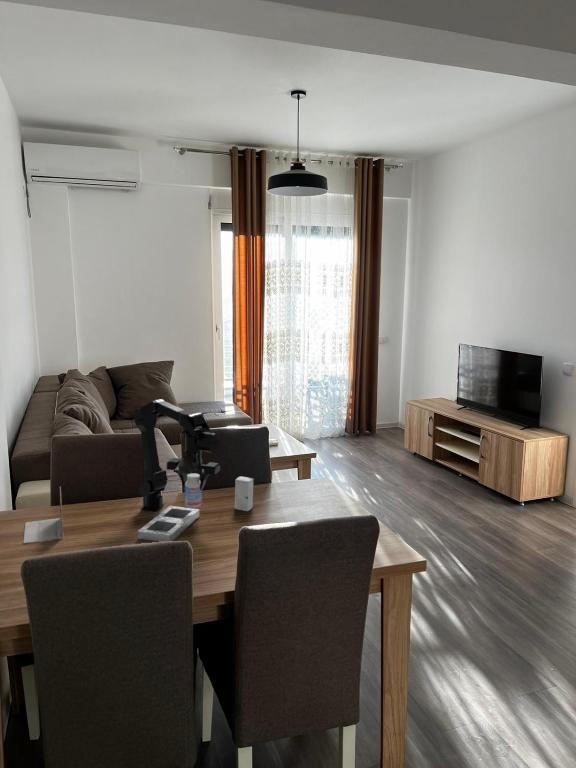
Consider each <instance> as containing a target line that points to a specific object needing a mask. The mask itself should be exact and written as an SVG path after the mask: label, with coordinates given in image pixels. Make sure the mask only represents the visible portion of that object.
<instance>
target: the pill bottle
mask: <svg viewBox="0 0 576 768" xmlns="http://www.w3.org/2000/svg"><path fill="white" fill-rule="evenodd" d="M200 481H201V477H200V473H196V472H195V473H193V472H192V473H191V474H187V481H186V482H185V488H184V505H185V506H186V508H197V507H198V508H199V507H201V505H202V499H203V498H202V497H203V496H202V494H203V492H202V491H203V489H202V490H200Z"/></svg>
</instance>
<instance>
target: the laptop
mask: <svg viewBox="0 0 576 768" xmlns="http://www.w3.org/2000/svg"><path fill="white" fill-rule="evenodd" d="M61 487H62V486H59V505H60V517H57V518H49V519H41V520H32V521H26V522H25V523H24V531H23V532H24V533H23V540H22V541H23V542H22V543H23V544H24V545H25V544H33V543H34V544H35V543H43V542H48V541H49V542H50V541H56V540H63V539H64V530H63V529H64V526H63V525H64V524H63V523H64V522H63V519H64V518H63V506H62V488H61Z"/></svg>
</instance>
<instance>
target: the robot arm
mask: <svg viewBox="0 0 576 768" xmlns="http://www.w3.org/2000/svg"><path fill="white" fill-rule="evenodd" d="M160 414H161V415H163V416H166V417H168V418H170V419H172V420H174V421H176V422H177V423H178V424H179V426H180V427H181V428H183V430H182V431H180V434H181V435H184V436H185V437H184V439H185V441H184V443H185V445H184V446H185V448H184V451H183V455H182V458H178V457H172V458H171V459H170V460H168V461H167V462H166V466H165V467H166V469H167V470H169V471H170V470H171V471H173V473H176V474H177V475H178V477H179V479H180V481H181V485H182V486H183V488H184V489H185V482H186V481H188V480H187V475H188V474H192V473H193V472H194V471H198V470H199V471H201V473H199V475H200V490H202V491H203V489H204V487H205V485H206V482H207V479H208V477H209V476H215V475H217V474H218V473H219V472H220V471H221V465H220V464H219V462H211V461H210V462H208V463H206V464H203V459H202V453H203V452H208V453H210V454H215V453H217V452H218V451H219V449H220V447H221V441H220V439H219V437H217V433H215V432H211V429H210V426H209V425H208V423H207V420H206V419H205V417H204V414H203V413H202V412H199V411H196V410H186V409H183V408H181V407H179V406H176V405H175V404H171V403H170V402H167V401H165V400H164V399H163V398H159V399H154V400H151V401H150V402H149V403H148V404H146V405H143V406H142V407H140V408H136V409H135V410H134V412H133V414H132V415H133V421H134V424H135V426H136V427H137V428H138V430H139V431H140V434H141V441H142V447H143V454H144V461H145V466H146V467H145V471H144V475H143V483H142V484H141V485H140V487H139V488H138V493H139V495H141V496H142V502H143V505H142V507H141V510H143V511H150V512H151V511H152V512H157V511H159V510H160V509H161V508H162V507H164V503H163V495H162V492H164V491H165V489H166V486H167V485H168V480H169V479H168V477H167V476H168V475H167V470H165V469H163V468H162V467H161V465H160V459H159V453H158V445H157V439H156V434H155V433H156V432H155V428H156V425H157V423H158V416H159V415H160Z"/></svg>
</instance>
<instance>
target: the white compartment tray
mask: <svg viewBox="0 0 576 768" xmlns="http://www.w3.org/2000/svg"><path fill="white" fill-rule="evenodd" d="M199 518H200V509H198V508H193V507H182V506H174V505H169V506H168V507H166V508H165V509H164V510H163V511H161V512H160V513H159V514H158V515H156V516H155V517H154V518H153V519H151V520H150V521H149V522H147V523H146V524H145V525H143V526H142V527H141V528H140V529H138V530H137V540H138V541H145V542H153V543H158V542H159V541H173V540H174V541H175V540H176V539H177V538H179V536H181V535H182V534H183V533H184V532H185V531H186V530H188V528H189V527H191V526H192V525H193V524H194V523H195V522H196V521H197V520H198V519H199ZM174 541H173V542H174Z"/></svg>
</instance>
